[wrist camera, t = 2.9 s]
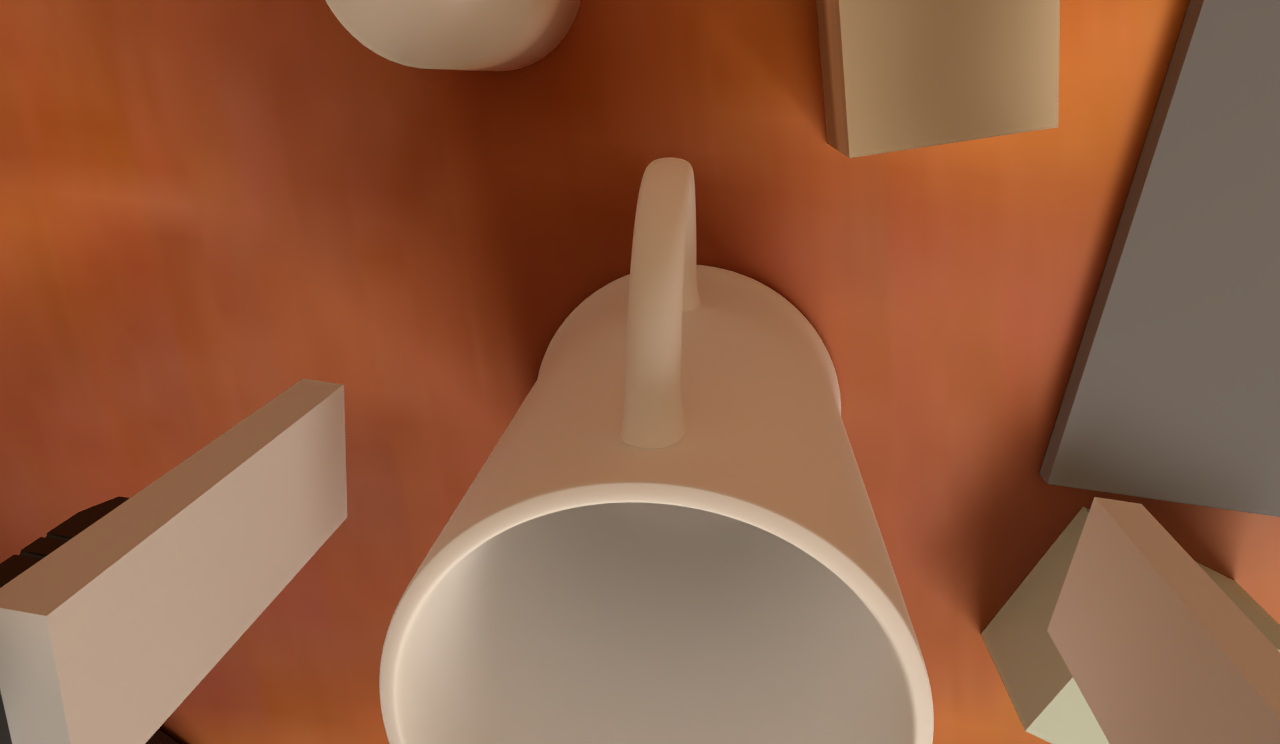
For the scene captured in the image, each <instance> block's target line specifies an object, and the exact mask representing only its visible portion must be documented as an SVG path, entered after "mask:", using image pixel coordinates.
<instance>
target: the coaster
mask: <svg viewBox="0 0 1280 744" xmlns="http://www.w3.org/2000/svg"><path fill="white" fill-rule="evenodd" d="M1039 474H1040V475H1041V477H1042V478H1043V479H1044V480H1045V482H1046V483H1047V484H1051V485H1058V486H1065V487H1072V488H1079V489H1087V490H1094V491H1101V492H1108V493H1115V494H1122V495H1129V496H1136V497H1143V498H1150V499H1157V500H1164V501H1171V502H1178V503H1185V504H1192V505H1199V506H1206V507H1213V508H1220V509H1227V510H1234V511H1241V512H1248V513H1256V514H1263V515H1270V516H1277V517H1280V0H1190V2H1189V5H1188V9H1187V12H1186V15H1185V18H1184V21H1183V24H1182V27H1181V31H1180V34H1179V37H1178V40H1177V43H1176V46H1175V49H1174V52H1173V56H1172V59H1171V62H1170V65H1169V68H1168V71H1167V74H1166V78H1165V81H1164V84H1163V87H1162V90H1161V93H1160V96H1159V100H1158V103H1157V106H1156V109H1155V112H1154V115H1153V118H1152V122H1151V125H1150V128H1149V131H1148V134H1147V137H1146V140H1145V143H1144V147H1143V150H1142V153H1141V156H1140V159H1139V162H1138V165H1137V169H1136V172H1135V175H1134V178H1133V181H1132V184H1131V187H1130V191H1129V194H1128V197H1127V200H1126V203H1125V206H1124V209H1123V212H1122V216H1121V219H1120V222H1119V225H1118V228H1117V231H1116V234H1115V238H1114V241H1113V244H1112V247H1111V250H1110V253H1109V256H1108V260H1107V263H1106V266H1105V269H1104V272H1103V275H1102V278H1101V281H1100V285H1099V288H1098V291H1097V294H1096V297H1095V300H1094V303H1093V307H1092V310H1091V313H1090V316H1089V319H1088V322H1087V325H1086V329H1085V332H1084V335H1083V338H1082V341H1081V344H1080V347H1079V351H1078V354H1077V357H1076V360H1075V363H1074V366H1073V369H1072V372H1071V376H1070V379H1069V382H1068V385H1067V388H1066V391H1065V394H1064V398H1063V401H1062V404H1061V407H1060V410H1059V413H1058V416H1057V420H1056V423H1055V426H1054V429H1053V432H1052V435H1051V438H1050V441H1049V445H1048V448H1047V451H1046V454H1045V457H1044V460H1043V463H1042V467H1041V470H1040V473H1039Z"/></svg>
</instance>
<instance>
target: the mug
mask: <svg viewBox="0 0 1280 744" xmlns="http://www.w3.org/2000/svg"><path fill="white" fill-rule="evenodd" d="M379 687H380V703H381V710H382V716H383V722H384V726H385V730H386V734H387V737H388V740H389V744H932V742H933V730H934V715H933V702H932V694H931V688H930V683H929V678H928V674H927V670H926V666H925V663H924V659H923V656H922V653H921V650H920V647H919V644H918V641H917V638H916V635H915V632H914V629H913V626H912V623H911V620H910V617H909V614H908V611H907V608H906V605H905V602H904V600H903V597H902V594H901V591H900V588H899V585H898V582H897V579H896V576H895V573H894V570H893V567H892V564H891V562H890V559H889V556H888V553H887V550H886V547H885V544H884V541H883V538H882V535H881V532H880V529H879V526H878V524H877V521H876V518H875V515H874V512H873V509H872V506H871V503H870V500H869V497H868V494H867V491H866V488H865V486H864V483H863V480H862V477H861V474H860V471H859V468H858V465H857V462H856V459H855V456H854V453H853V450H852V448H851V445H850V442H849V439H848V436H847V433H846V430H845V427H844V424H843V421H842V418H841V398H840V390H839V384H838V379H837V375H836V372H835V368H834V365H833V363H832V360H831V358H830V355H829V353H828V351H827V349H826V347H825V345H824V343H823V341H822V340H821V338H820V336H819V335H818V333H817V332H816V330H815V329H814V328H813V326H812V325H811V324H810V322H809V321H808V320H807V319H806V318H805V317H804V315H803V314H802V313H801V312H800V311H799V310H798V309H797V308H796V307H795V306H793V305H792V304H791V303H790V302H789V301H788V300H786V299H785V298H784V297H783V296H781V295H780V294H778V293H777V292H776V291H774V290H772V289H771V288H769V287H768V286H766V285H764V284H762V283H760V282H758V281H756V280H754V279H752V278H750V277H747V276H745V275H742V274H739V273H736V272H733V271H730V270H726V269H722V268H717V267H712V266H705V265H696V201H695V182H694V173H693V168H692V166H691V164H690V163H689V162H688V161H686V160H684V159H681V158H674V157H666V158H660V159H656V160H654V161H652V162H651V163H650V164H649V165H648V166H647V167H646V169H645V172H644V174H643V177H642V181H641V185H640V190H639V195H638V201H637V208H636V216H635V224H634V233H633V243H632V255H631V267H630V274H628V275H626V276H623V277H621V278H619V279H617V280H615V281H613V282H611V283H609V284H607V285H605V286H604V287H602V288H600V289H599V290H597V291H596V292H594V293H593V294H592V295H590V296H589V297H588V298H586V299H585V300H584V301H583V302H582V303H581V304H579V305H578V306H577V307H576V308H575V309H574V310H573V311H572V312H571V313H570V315H569V316H568V317H567V318H566V319H565V321H564V322H563V323H562V325H561V326H560V327H559V329H558V330H557V332H556V333H555V335H554V337H553V338H552V340H551V342H550V344H549V346H548V348H547V350H546V353H545V355H544V358H543V360H542V363H541V367H540V370H539V374H538V379H537V381H536V382H535V384H534V386H533V387H532V389H531V390H530V392H529V393H528V395H527V397H526V398H525V400H524V401H523V403H522V405H521V406H520V408H519V409H518V411H517V413H516V414H515V416H514V417H513V419H512V421H511V422H510V424H509V425H508V427H507V428H506V430H505V432H504V433H503V435H502V436H501V438H500V440H499V441H498V443H497V444H496V446H495V448H494V449H493V451H492V452H491V454H490V456H489V457H488V459H487V460H486V462H485V463H484V465H483V467H482V468H481V470H480V471H479V473H478V475H477V476H476V478H475V479H474V481H473V483H472V484H471V486H470V487H469V489H468V491H467V492H466V494H465V495H464V497H463V498H462V500H461V502H460V503H459V505H458V506H457V508H456V510H455V511H454V513H453V514H452V516H451V518H450V519H449V521H448V522H447V524H446V525H445V527H444V529H443V530H442V532H441V533H440V535H439V537H438V538H437V540H436V541H435V543H434V545H433V546H432V548H431V549H430V551H429V553H428V554H427V556H426V557H425V559H424V561H423V562H422V564H421V565H420V567H419V569H418V570H417V572H416V573H415V575H414V577H413V578H412V580H411V582H410V583H409V585H408V587H407V588H406V590H405V592H404V594H403V596H402V598H401V599H400V601H399V603H398V605H397V608H396V610H395V612H394V614H393V617H392V619H391V622H390V625H389V628H388V631H387V634H386V638H385V642H384V646H383V651H382V657H381V664H380V679H379Z"/></svg>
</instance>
